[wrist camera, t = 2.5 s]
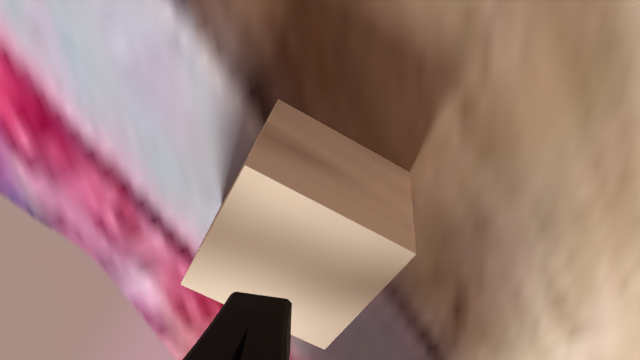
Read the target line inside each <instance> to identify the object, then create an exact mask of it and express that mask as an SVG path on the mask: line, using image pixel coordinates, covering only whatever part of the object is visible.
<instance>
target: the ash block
mask: <svg viewBox="0 0 640 360" xmlns="http://www.w3.org/2000/svg"><path fill="white" fill-rule="evenodd" d="M416 254H417V253H416V241H415V229H414V217H413V206H412V194H411V182H410V172H409V171H407V170H405V169H403V168H402V167H400V166H398V165H396V164H394V163H393V162H391V161H389V160H387V159H385V158H384V157H382V156H380V155H378V154H376V153H375V152H373V151H371V150H369V149H367V148H366V147H364V146H362V145H360V144H358V143H357V142H355V141H353V140H351V139H349V138H348V137H346V136H344V135H342V134H340V133H339V132H337V131H335V130H333V129H331V128H330V127H328V126H326V125H324V124H322V123H321V122H319V121H317V120H315V119H313V118H312V117H310V116H308V115H306V114H304V113H303V112H301V111H299V110H297V109H295V108H294V107H292V106H290V105H288V104H286V103H285V102H283V101H281V100H279V99H278V100H277V102H276V104H275V106H274V108H273V109H272V111H271V113H270V115H269V117H268V119H267V121H266V123H265V124H264V126H263V128H262V130H261V132H260V134H259V136H258V137H257V139H256V141H255V143H254V145H253V147H252V149H251V151H250V152H249V154H248V156H247V158H246V160H245V162H244V164H243V165H242V167H241V169H240V171H239V173H238V175H237V177H236V178H235V180H234V182H233V184H232V186H231V188H230V190H229V192H228V193H227V195H226V197H225V199H224V201H223V203H222V205H221V207H220V208H219V210H218V212H217V214H216V216H215V218H214V220H213V222H212V224H211V226H210V228H209V230H208V232H207V234H206V236H205V238H204V240H203V242H202V243H201V245H200V247H199V249H198V251H197V253H196V255H195V257H194V259H193V261H192V263H191V265H190V267H189V269H188V271H187V273H186V275H185V276H184V278H183V280H182V282H181V285H183V286H185V287H187V288H189V289H192V290H194V291H196V292H198V293H200V294H203V295H205V296H207V297H209V298H211V299H214V300H216V301H218V302H220V303H222V304H225V302H226V301H227V299H228V298H229V296H230V294H232V293H234V292H242V293H250V294H257V295H264V296H271V297H278V298H285V299H288V300H289V301H290V302H291V303H292V314H291V335H293V336H295V337H297V338H300V339H302V340H304V341H306V342H308V343H311V344H313V345H315V346H317V347H319V348H322V349H324V350H325V349H326V348H327V347H328V346H329V345H330V344H331V343H332V342H333V341H334V339H335V338H336V337H337V336H338V335H339V334H340V333H341V332H342V331H343V330H344V329H345V328H346V327H347V326H348V325H349V324H350V323H351V322H352V321H353V320H354V319H355V318H356V317H357V316H358V314H359V313H360V312H361V311H362V310H363V309H364V308H365V307H366V306H367V305H368V304H369V303H370V302H371V301H372V300H373V299H374V298H375V297H376V296H377V295H378V294H379V293H380V292H381V291H382V290H383V288H384V287H385V286H386V285H387V284H388V283H389V282H390V281H391V280H392V279H393V278H394V277H395V276H396V275H397V274H398V273H399V272H400V271H401V270H402V269H403V268H404V267H405V266H406V265H407V264H408V262H409V261H410V260H411V259H412V258H413V257H414V256H415V255H416Z"/></svg>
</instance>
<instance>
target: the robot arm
mask: <svg viewBox="0 0 640 360" xmlns="http://www.w3.org/2000/svg"><path fill="white" fill-rule="evenodd" d="M291 314H292V303H291V302H290V301H289V300H288V299H285V298H278V297H271V296H264V295H257V294H250V293H242V292H234V293H232V294H230V296H229V298H228V299H227V301H226V302H225V304H224V305H223V307H222V308H221V310H220V311H219V313H218V314H217V315H216V317H215V318H214V320H213V321H212V322H211V324H210V325H209V327H208V328H207V329H206V331H205V332H204V333H203V335H202V336H201V337H200V339H199V340H198V341H197V342H196V344H195V345H194V346H193V347H192V349H191V350H190V351H189V352H188V354H187V355H186V356H185V357H184V359H183V360H289V355H290V339H291Z"/></svg>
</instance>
